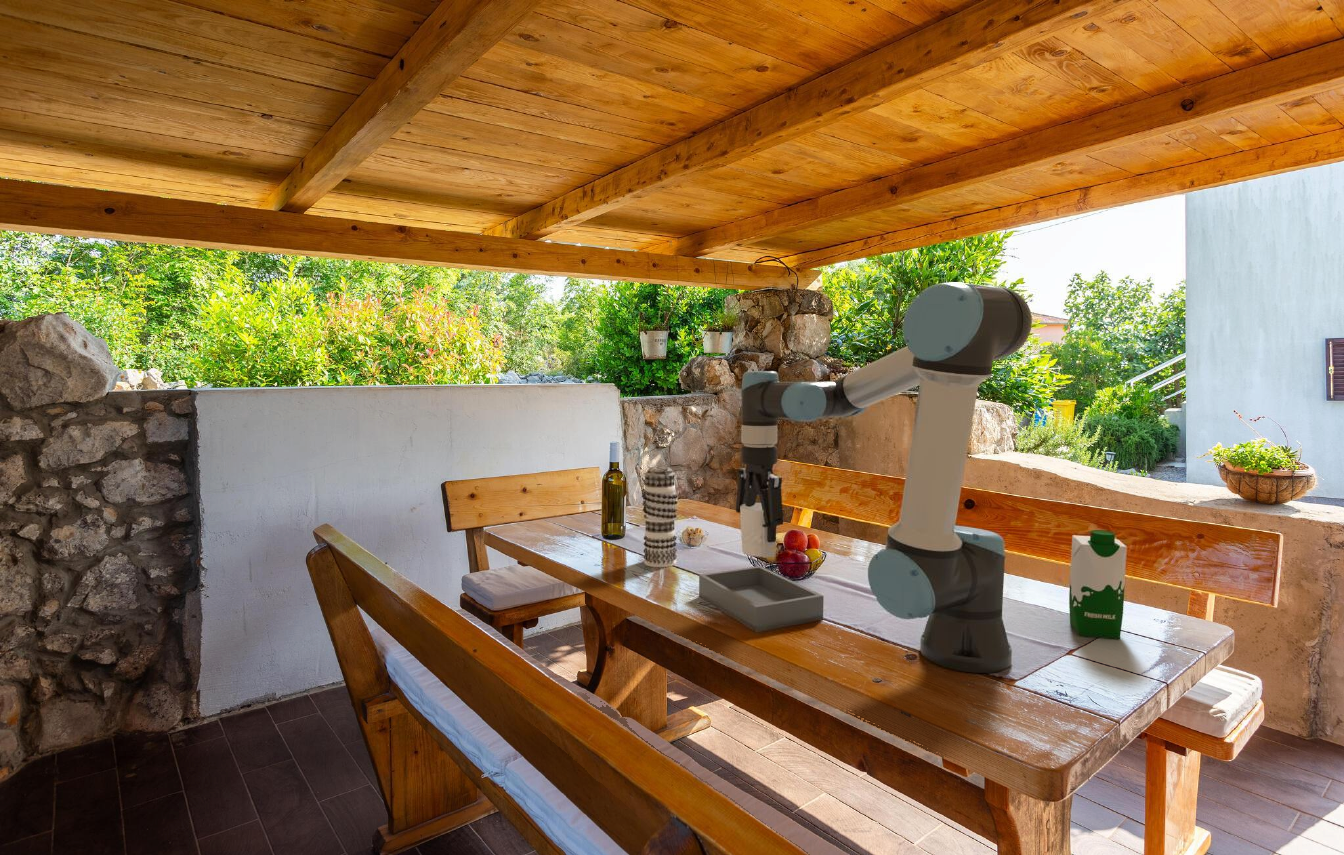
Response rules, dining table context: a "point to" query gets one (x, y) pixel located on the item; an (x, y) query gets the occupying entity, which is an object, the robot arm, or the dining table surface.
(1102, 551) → the milk carton
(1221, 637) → the dining table surface
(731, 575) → the bin
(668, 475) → the decorative candle
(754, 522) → the white cup
